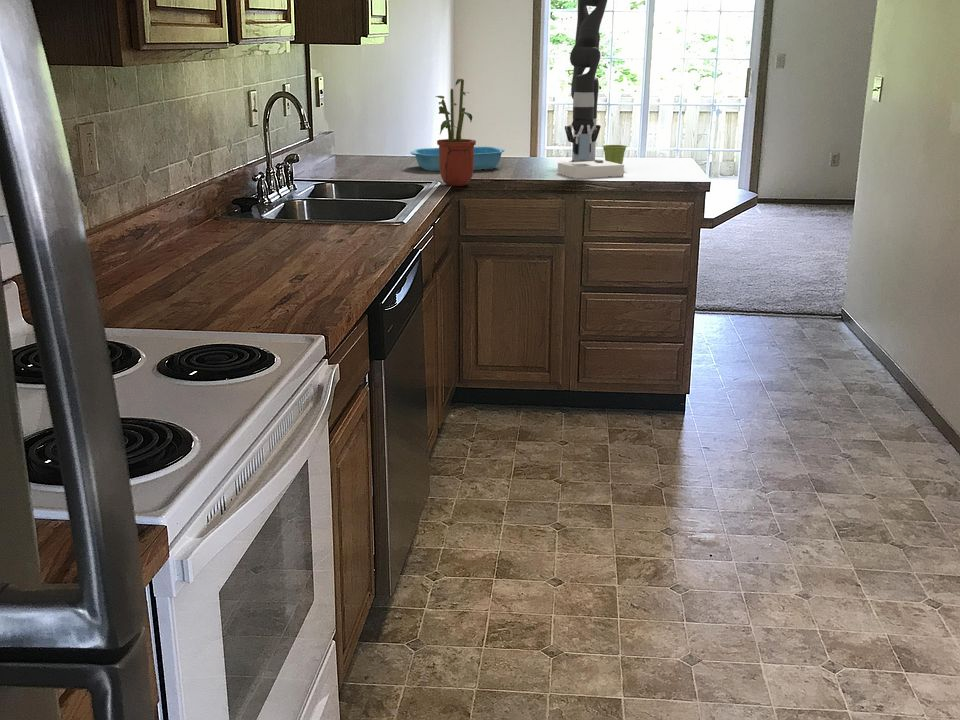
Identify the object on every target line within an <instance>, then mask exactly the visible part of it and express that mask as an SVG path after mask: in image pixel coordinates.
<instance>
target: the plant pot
mask: <svg viewBox="0 0 960 720" xmlns="http://www.w3.org/2000/svg"><path fill="white" fill-rule="evenodd" d="M601 147H602V148H603V149H602V150H603V153H604V161H610V162H614V163H618V164H622V165H624V164H623V162H624V156H625V152H626V149H627V148H628V146H627V145H623V144H606V145H602V146H601Z"/></svg>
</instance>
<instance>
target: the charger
mask: <svg viewBox="0 0 960 720" xmlns="http://www.w3.org/2000/svg"><path fill="white" fill-rule="evenodd" d="M576 135H577V133H576ZM578 144H579V148H578V155H576V154H574V158H575V159H579V160H582V159H589V150H590V134H580V137H579V142H578Z"/></svg>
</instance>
